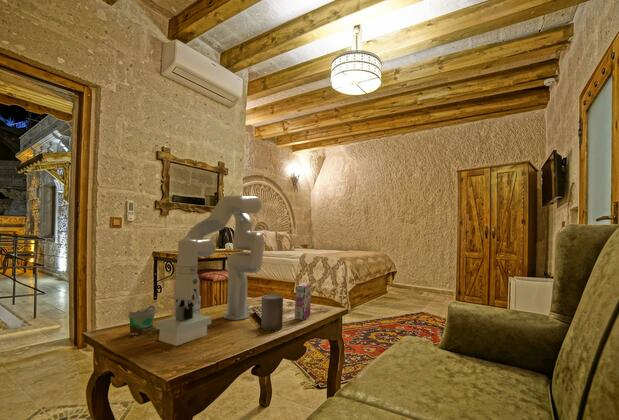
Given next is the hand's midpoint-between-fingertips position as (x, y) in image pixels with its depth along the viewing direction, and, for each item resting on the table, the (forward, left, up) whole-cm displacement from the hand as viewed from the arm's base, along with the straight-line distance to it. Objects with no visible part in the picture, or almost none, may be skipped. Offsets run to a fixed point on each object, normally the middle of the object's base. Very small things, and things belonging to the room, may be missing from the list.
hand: (184, 317), depth 123 cm
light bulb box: (-18, -20, -9) cm, 29 cm away
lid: (0, 0, -3) cm, 3 cm away
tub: (0, 0, -9) cm, 9 cm away
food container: (+4, -18, -9) cm, 21 cm away
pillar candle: (-33, +18, -9) cm, 38 cm away
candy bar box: (-55, +21, -9) cm, 59 cm away
